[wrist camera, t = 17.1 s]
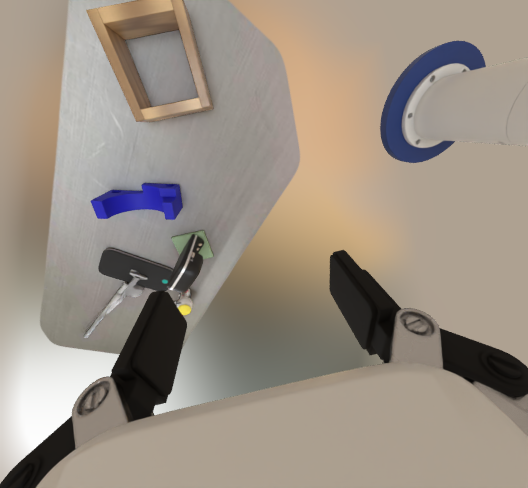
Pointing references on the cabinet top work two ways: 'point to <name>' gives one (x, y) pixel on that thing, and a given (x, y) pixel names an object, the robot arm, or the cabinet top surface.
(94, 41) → the cabinet top surface
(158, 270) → the smartphone
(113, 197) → the cable clip
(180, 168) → the cabinet top surface
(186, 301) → the toy figures
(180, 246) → the mat
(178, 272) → the black zipper case
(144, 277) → the caliper
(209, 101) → the holder
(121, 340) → the cabinet top surface
